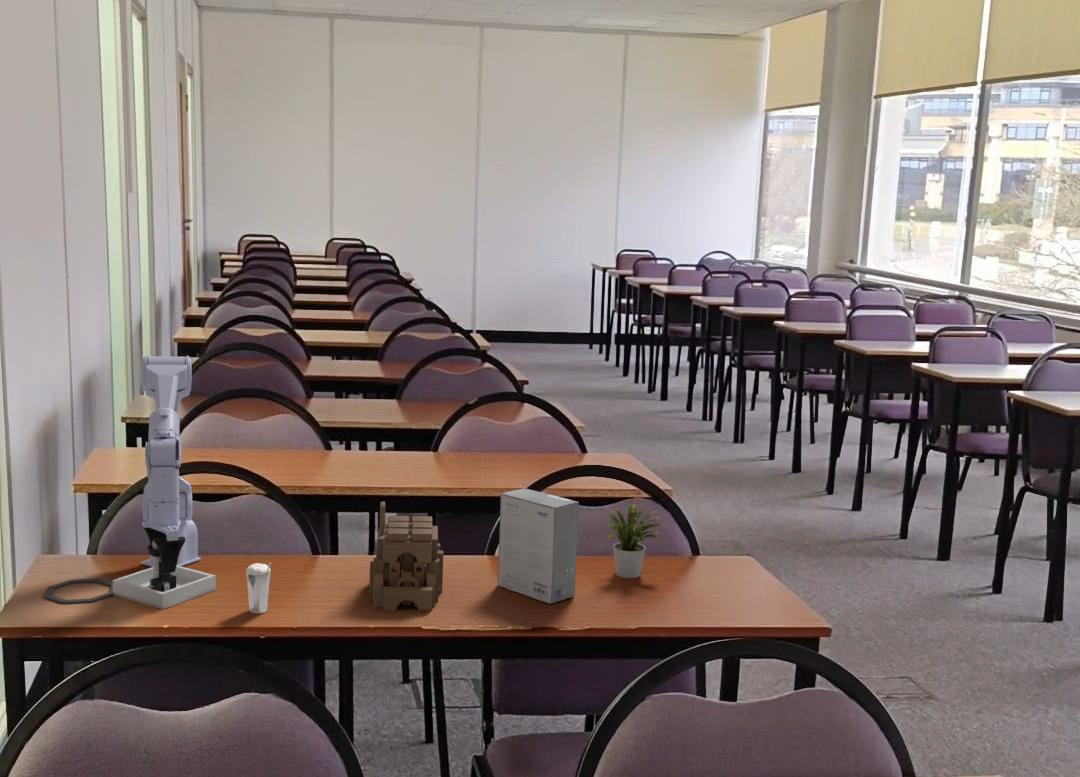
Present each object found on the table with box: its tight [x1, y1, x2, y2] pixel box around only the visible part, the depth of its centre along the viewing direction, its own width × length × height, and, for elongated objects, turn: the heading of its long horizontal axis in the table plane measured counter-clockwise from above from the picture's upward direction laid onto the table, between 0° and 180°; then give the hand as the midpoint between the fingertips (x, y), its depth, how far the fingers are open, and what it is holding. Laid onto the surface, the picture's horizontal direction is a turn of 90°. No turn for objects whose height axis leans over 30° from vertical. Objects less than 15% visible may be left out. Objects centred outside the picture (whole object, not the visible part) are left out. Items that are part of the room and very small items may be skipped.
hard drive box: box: [497, 488, 580, 605], centre depth 233 cm, size 16×8×20 cm, turn 47°
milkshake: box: [245, 562, 272, 615], centre depth 216 cm, size 4×5×10 cm
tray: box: [112, 565, 217, 610], centre depth 225 cm, size 14×14×3 cm
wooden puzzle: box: [368, 501, 444, 612], centre depth 230 cm, size 22×15×19 cm, turn 5°
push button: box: [146, 540, 176, 592], centre depth 223 cm, size 7×5×10 cm
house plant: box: [605, 500, 666, 579], centre depth 245 cm, size 14×14×16 cm
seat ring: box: [43, 577, 115, 605], centre depth 223 cm, size 13×13×1 cm
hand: (164, 566), depth 224 cm, fingers open, 7 cm apart
